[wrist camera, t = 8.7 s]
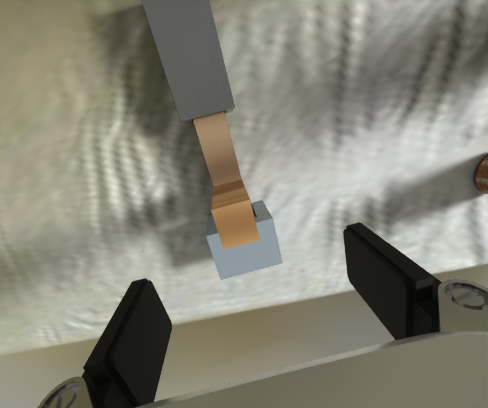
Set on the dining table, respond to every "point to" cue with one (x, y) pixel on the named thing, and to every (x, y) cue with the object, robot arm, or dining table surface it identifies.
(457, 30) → the dining table surface
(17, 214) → the dining table surface
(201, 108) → the sleeve
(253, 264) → the socket block
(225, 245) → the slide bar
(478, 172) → the sauce bottle
